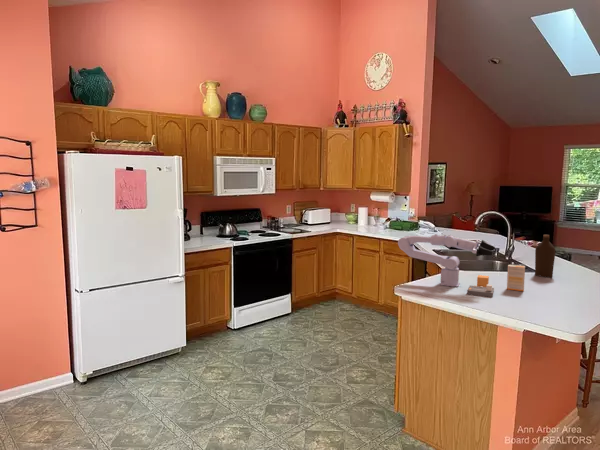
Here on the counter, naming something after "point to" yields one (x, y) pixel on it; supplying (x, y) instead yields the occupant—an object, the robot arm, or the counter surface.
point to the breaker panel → (480, 291)
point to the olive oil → (544, 258)
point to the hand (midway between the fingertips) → (493, 251)
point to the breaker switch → (489, 287)
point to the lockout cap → (482, 280)
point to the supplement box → (515, 277)
